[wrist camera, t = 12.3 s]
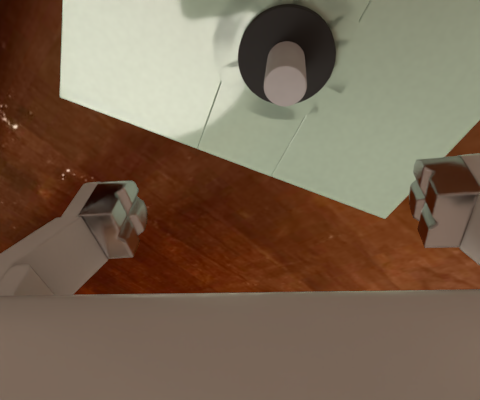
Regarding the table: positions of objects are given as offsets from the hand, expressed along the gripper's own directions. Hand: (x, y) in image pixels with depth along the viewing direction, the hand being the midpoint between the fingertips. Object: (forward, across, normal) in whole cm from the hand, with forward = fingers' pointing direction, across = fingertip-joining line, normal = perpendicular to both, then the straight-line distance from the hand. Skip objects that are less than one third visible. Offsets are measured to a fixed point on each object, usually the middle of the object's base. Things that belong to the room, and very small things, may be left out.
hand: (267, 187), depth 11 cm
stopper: (+14, 0, 0) cm, 14 cm away
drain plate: (+14, 0, 0) cm, 14 cm away
